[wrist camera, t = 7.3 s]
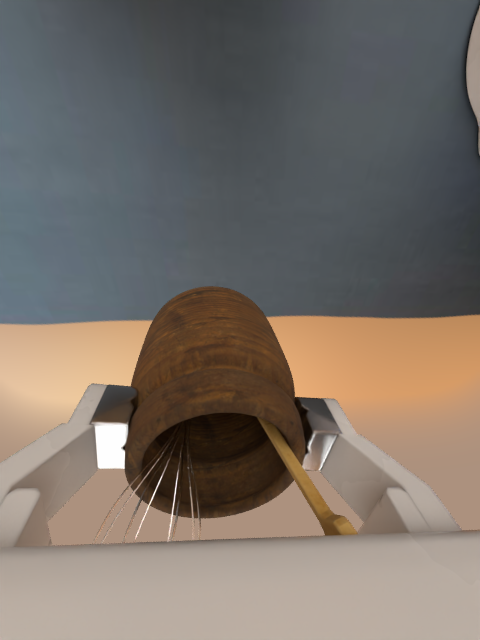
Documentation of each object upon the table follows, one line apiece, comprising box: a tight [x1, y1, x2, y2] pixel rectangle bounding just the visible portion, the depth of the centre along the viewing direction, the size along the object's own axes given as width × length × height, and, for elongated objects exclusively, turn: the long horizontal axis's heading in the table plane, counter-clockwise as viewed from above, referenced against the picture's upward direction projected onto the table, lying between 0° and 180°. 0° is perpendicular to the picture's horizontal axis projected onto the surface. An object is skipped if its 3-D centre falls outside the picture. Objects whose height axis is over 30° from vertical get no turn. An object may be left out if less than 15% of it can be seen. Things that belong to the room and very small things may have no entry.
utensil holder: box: [92, 286, 358, 544], centre depth 8 cm, size 6×6×12 cm
